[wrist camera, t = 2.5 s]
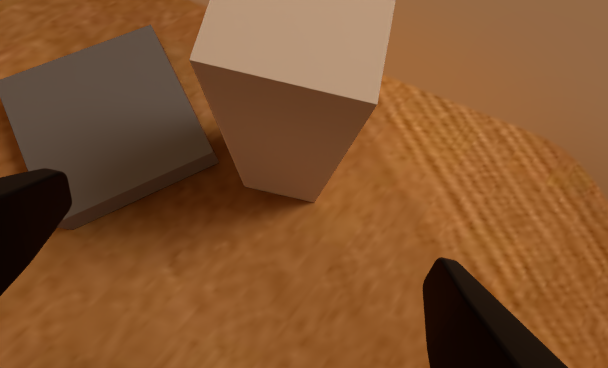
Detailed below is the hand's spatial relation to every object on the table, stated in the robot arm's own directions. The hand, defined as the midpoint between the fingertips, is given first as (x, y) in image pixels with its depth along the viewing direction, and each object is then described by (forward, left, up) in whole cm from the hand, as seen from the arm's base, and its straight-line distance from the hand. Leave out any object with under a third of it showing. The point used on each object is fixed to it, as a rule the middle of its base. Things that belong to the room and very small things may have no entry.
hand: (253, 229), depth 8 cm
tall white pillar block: (+3, +4, -12) cm, 13 cm away
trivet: (-5, +11, -12) cm, 16 cm away
